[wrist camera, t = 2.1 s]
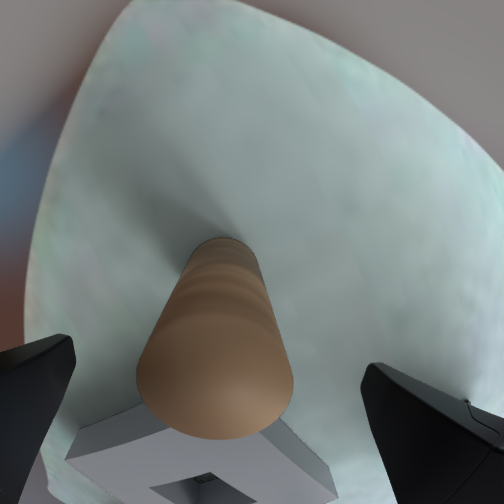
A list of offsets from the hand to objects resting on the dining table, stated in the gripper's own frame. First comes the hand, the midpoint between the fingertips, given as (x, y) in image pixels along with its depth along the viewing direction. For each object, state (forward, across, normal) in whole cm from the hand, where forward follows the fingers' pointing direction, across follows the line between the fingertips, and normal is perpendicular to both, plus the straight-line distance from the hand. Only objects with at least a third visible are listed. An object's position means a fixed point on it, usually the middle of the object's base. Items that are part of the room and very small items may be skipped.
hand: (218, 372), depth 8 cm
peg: (+9, 0, 0) cm, 9 cm away
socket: (+9, 0, +17) cm, 19 cm away
